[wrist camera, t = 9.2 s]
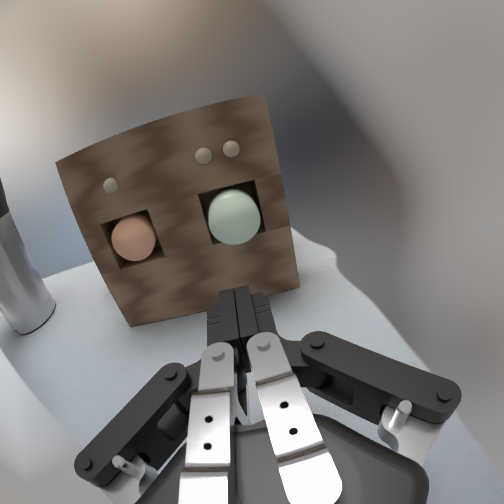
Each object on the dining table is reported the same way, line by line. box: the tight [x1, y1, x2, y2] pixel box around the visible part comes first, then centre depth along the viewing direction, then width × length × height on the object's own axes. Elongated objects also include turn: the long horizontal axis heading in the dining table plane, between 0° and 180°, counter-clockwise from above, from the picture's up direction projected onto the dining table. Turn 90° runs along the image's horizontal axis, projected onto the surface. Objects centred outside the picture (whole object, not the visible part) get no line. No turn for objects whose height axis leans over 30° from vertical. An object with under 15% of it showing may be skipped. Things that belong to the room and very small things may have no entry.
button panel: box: [56, 93, 300, 327], centre depth 27 cm, size 20×4×20 cm, turn 97°
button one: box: [112, 210, 158, 261], centre depth 27 cm, size 4×3×4 cm
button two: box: [209, 187, 260, 245], centre depth 25 cm, size 4×3×4 cm
